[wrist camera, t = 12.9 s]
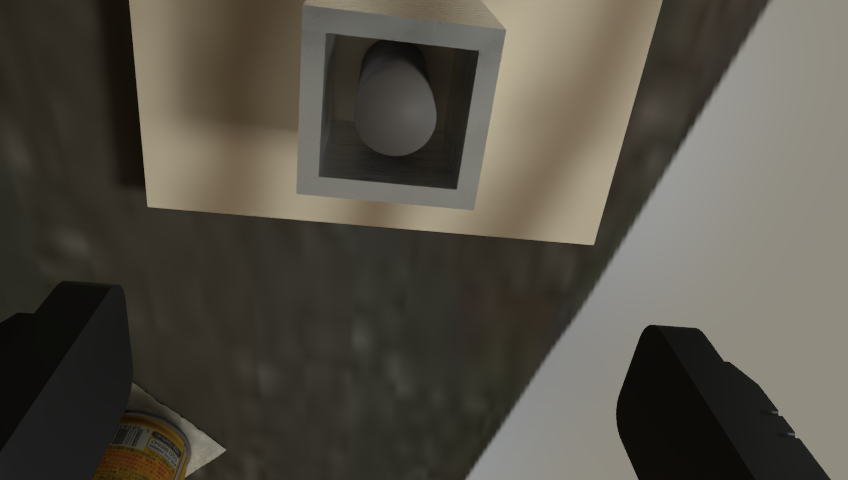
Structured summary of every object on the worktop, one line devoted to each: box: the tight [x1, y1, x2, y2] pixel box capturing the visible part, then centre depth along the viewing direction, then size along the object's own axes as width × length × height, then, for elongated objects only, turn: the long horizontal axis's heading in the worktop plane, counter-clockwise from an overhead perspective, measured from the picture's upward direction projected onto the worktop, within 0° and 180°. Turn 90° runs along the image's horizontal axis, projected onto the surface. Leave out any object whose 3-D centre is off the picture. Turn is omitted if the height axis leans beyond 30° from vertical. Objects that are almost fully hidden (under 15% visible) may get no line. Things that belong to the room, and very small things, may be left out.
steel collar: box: [296, 0, 506, 210], centre depth 23 cm, size 6×6×6 cm
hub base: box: [129, 0, 662, 245], centre depth 24 cm, size 20×14×8 cm
